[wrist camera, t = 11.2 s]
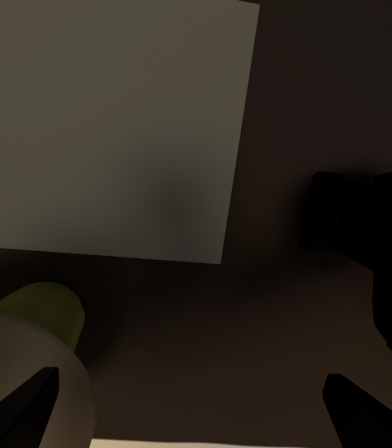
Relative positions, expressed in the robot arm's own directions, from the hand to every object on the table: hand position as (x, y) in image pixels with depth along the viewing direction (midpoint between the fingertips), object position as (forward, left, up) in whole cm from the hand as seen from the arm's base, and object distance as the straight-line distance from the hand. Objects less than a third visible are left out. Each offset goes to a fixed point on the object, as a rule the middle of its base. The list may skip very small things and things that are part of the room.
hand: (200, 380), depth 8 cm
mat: (+6, -8, -13) cm, 16 cm away
